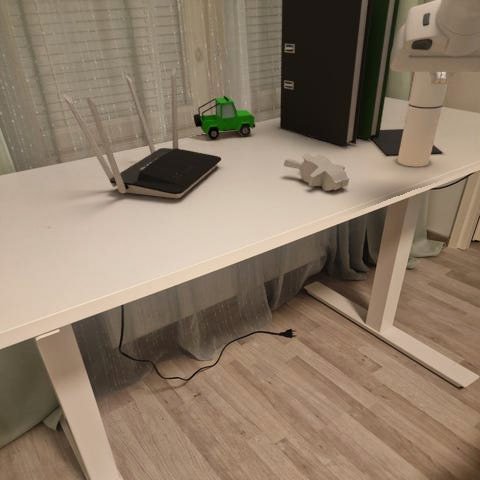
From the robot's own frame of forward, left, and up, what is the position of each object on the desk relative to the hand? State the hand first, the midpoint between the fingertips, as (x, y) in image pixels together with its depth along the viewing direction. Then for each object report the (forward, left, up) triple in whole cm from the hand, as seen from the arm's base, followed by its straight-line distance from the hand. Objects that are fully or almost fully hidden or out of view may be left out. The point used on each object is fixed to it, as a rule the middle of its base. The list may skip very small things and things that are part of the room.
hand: (438, 81), depth 83 cm
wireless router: (+58, -5, -19) cm, 62 cm away
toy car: (+43, -39, -19) cm, 62 cm away
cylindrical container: (-3, -10, -19) cm, 22 cm away
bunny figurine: (+22, +1, -19) cm, 29 cm away
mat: (-5, -26, -19) cm, 33 cm away
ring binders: (+13, -37, -19) cm, 44 cm away
